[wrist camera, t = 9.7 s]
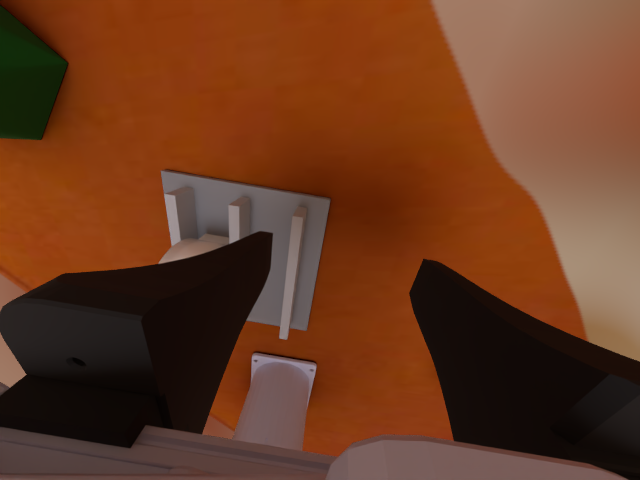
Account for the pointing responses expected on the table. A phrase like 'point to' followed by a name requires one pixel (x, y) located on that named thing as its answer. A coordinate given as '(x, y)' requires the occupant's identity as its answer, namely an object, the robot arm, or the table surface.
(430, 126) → the table surface
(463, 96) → the table surface
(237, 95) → the table surface
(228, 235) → the dish rack
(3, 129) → the milk carton
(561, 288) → the table surface
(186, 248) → the cream round puck
